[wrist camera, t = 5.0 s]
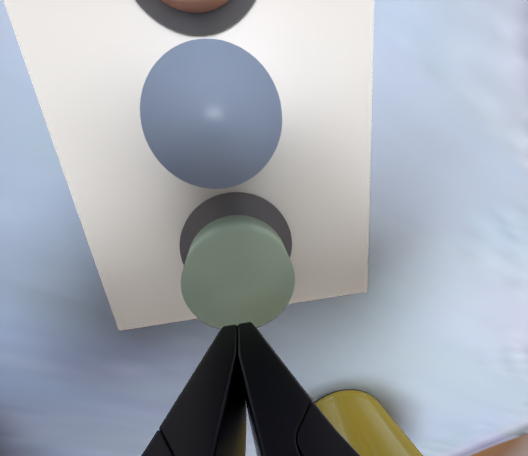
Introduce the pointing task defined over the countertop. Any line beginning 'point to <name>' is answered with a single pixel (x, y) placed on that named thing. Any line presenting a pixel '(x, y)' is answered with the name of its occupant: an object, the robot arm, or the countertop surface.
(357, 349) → the countertop surface
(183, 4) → the terracotta button
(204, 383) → the robot arm
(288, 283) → the sage button
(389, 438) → the plant pot
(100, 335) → the countertop surface
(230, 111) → the slate button
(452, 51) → the countertop surface
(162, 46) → the button board
